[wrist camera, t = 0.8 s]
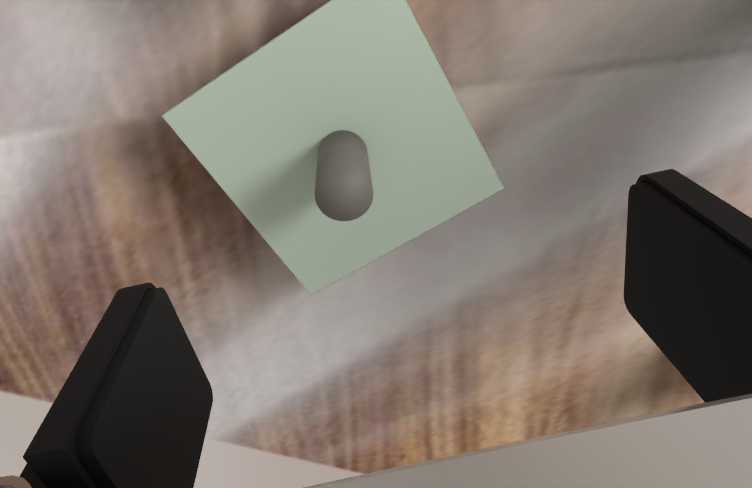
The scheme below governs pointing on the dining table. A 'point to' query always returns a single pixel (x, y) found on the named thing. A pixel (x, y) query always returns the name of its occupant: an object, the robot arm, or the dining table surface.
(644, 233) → the robot arm
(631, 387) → the dining table surface
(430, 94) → the lid
